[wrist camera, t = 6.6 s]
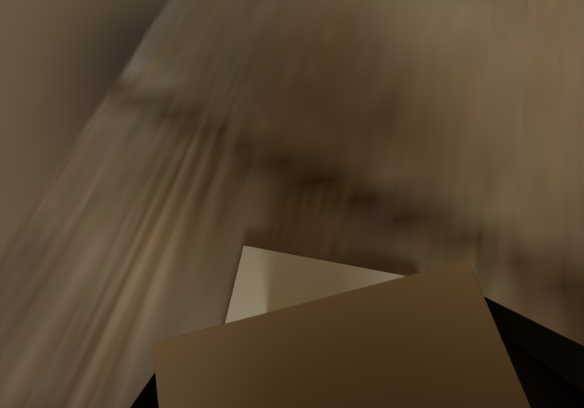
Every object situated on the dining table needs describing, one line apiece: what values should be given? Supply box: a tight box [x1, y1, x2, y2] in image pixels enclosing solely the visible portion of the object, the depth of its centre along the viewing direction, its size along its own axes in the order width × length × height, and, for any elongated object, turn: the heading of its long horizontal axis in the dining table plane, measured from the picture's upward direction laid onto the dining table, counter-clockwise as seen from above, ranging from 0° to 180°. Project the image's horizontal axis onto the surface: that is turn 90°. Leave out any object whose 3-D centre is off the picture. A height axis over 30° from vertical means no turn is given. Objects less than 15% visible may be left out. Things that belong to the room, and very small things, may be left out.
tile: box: [225, 246, 404, 323], centre depth 17 cm, size 10×9×1 cm
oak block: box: [152, 260, 530, 408], centre depth 10 cm, size 4×4×13 cm
